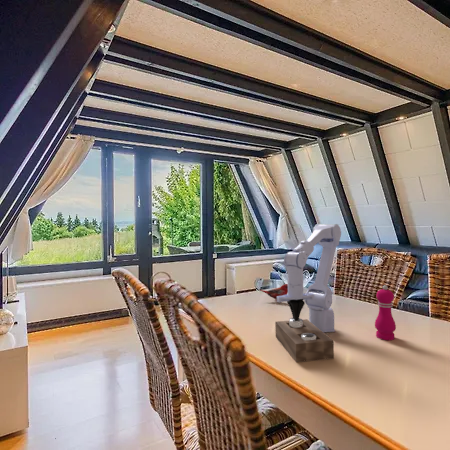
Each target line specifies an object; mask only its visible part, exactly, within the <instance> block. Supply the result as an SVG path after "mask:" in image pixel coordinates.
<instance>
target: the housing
mask: <svg viewBox="0 0 450 450" xmlns="http://www.w3.org/2000/svg"><path fill="white" fill-rule="evenodd" d="M302 320H303V327H299V328H291V327H289V320H280V321H275V323H274V324H275V327H274V328H275V329H274V330H275V338H276V340H277V341H278V342H279V343H280V345H282V347H283V348H284V349H285V351H286V352H287V353H288V354H289V355H290V357H292V359H293V360H294V361H295V363H299V362H300V363H302V362H311V361H322V360H323V361H324V360H332V359H334V358H335V357H334V356H335V355H334V354H335V353H334V352H335V351H334V345H335V344H334V342H335V341H334V340H333V339H332V338H331V337H330V336H329V335H327V334H326V332H322V331H321V330H320V329H318V328H317V327H316V326H315V325H314V324H312V323H311V322H310V321H309V319H306V318H305V319H302ZM303 333H312V334H315V335H316V340H306V341H304V340H303V339H302V338H301V334H303Z"/></svg>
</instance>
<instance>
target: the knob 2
mask: <svg viewBox="0 0 450 450" xmlns="http://www.w3.org/2000/svg"><path fill="white" fill-rule="evenodd" d="M301 338H302V339H303V340H304V341H306V340H316V335H315V334H312V333H303V334H301Z"/></svg>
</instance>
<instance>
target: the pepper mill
mask: <svg viewBox="0 0 450 450" xmlns="http://www.w3.org/2000/svg"><path fill="white" fill-rule="evenodd" d="M375 296H376V299H377V305H378V314H377V316H376V319H375V322H374V328H375V329H376V332H375V334H376V335H375V336H376V338H377V339H379V340H384V341H393V340H394V339H395V333H394V332H395V331H396V328H397V325H396V321H395V319H394V317H393V314H392V308H393V301H394V299H395V294H394V293H393V291H391V290H389V289H388V286H387V285H385V284H384V285H382V288H381V289H379V290H377V292H376V295H375Z"/></svg>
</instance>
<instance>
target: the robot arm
mask: <svg viewBox="0 0 450 450" xmlns="http://www.w3.org/2000/svg"><path fill="white" fill-rule="evenodd" d="M341 236H342V231H341V227H340V225H339V224H338V223H335V224H328V223H327V224H326V223H325V224H323V223H316V224H315V225H314V226H313V229H312V232H311V234H310V236H309V237H308V238H307V239H306V240H301V241H300V242H299V244H298V245H296V247H295V248H294V249H293V250H292V251H288V252H286V254H285V255H284V259H283V264H284V265H285V270H286V273H287V284H288V293H287V294H286V295H282V296H277V303H278V304H279V303H282V302H286V303H287V305H288V307H289V309H290V311H291V315H292V318H293V319H294V320H299V318H300V316H301V311H302V310H303V307H304V306H305V304H306V306H307V308H309V309H308V310H309V313H308V314H309V315H308V316H309V317H308V320H309V321H310V322H311V323H312V324H314V325H315V326H316V327H317V328H318V329H320V330H321V331H322V332H323V333H333V332H336V329H335V313H334V310H333V308H332V307H331V306H332V305H333V304H332V303H333V291H332V289H331V288H330V287H329V286H328V285H329V280H330V275H331V272H332V267H333V264H334V258H335V254H336V249H337V247H338V246H339V244H340V240H341ZM317 244H319V245H320V246H321V247H322V251H321V253H320V254H321V255H320V260H319V262H318V263H319V264H318V268H317V272H316V275H315V279H314V283H312V284H311V285H308V288H307V291H306V292H305V293H304V267H305V266H306V264H307V261H308V257H310V255H311V254H312V253H314V250H315V246H316V245H317Z"/></svg>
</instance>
